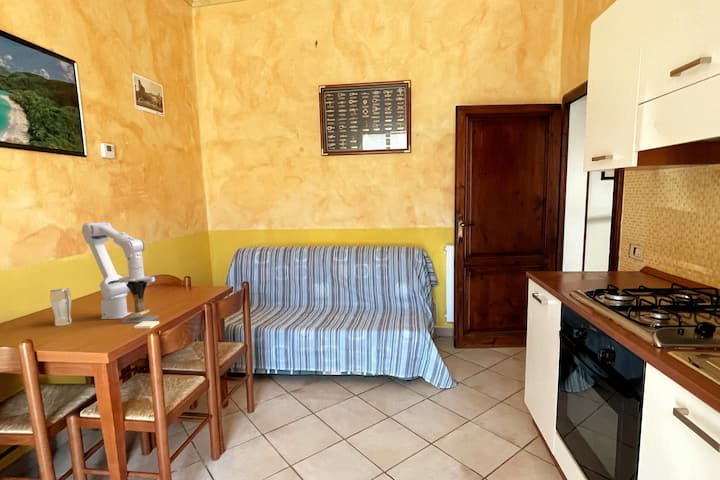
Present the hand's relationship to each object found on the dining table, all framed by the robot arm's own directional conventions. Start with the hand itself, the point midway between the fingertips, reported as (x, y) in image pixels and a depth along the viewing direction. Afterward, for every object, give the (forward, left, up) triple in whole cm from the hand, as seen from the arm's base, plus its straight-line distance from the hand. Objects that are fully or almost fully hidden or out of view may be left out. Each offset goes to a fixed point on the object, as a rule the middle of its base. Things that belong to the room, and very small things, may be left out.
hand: (138, 298), depth 164 cm
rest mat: (0, 0, -10) cm, 10 cm away
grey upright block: (0, 0, -7) cm, 7 cm away
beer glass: (-32, -3, -10) cm, 34 cm away
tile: (+4, -8, -10) cm, 13 cm away
